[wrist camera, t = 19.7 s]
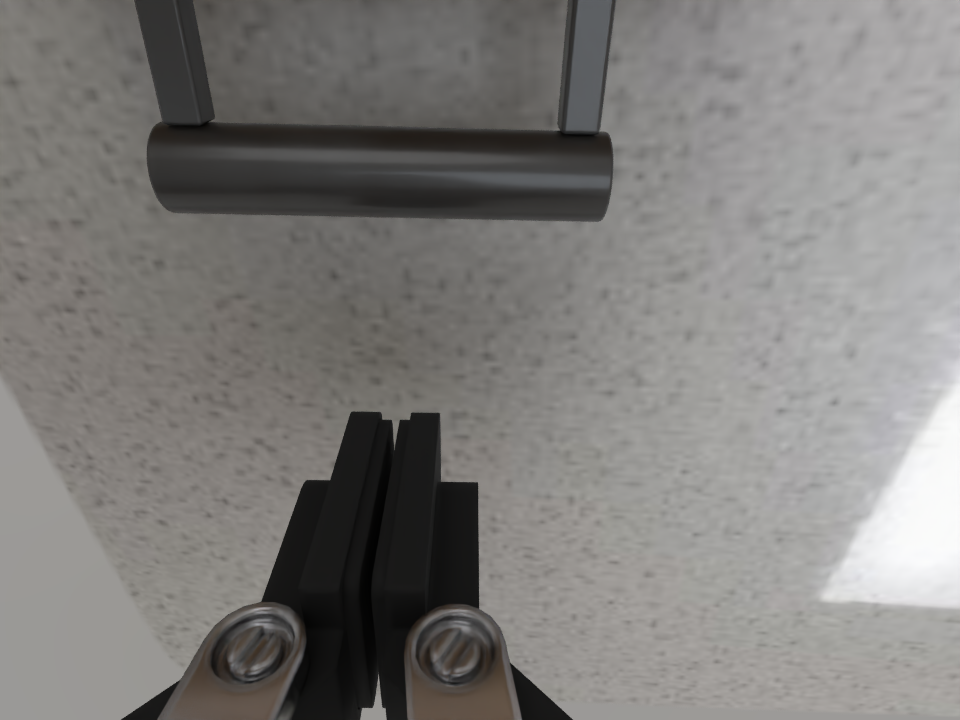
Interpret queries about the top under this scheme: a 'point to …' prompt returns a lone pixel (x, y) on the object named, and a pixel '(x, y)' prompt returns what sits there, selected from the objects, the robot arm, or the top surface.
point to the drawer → (377, 145)
